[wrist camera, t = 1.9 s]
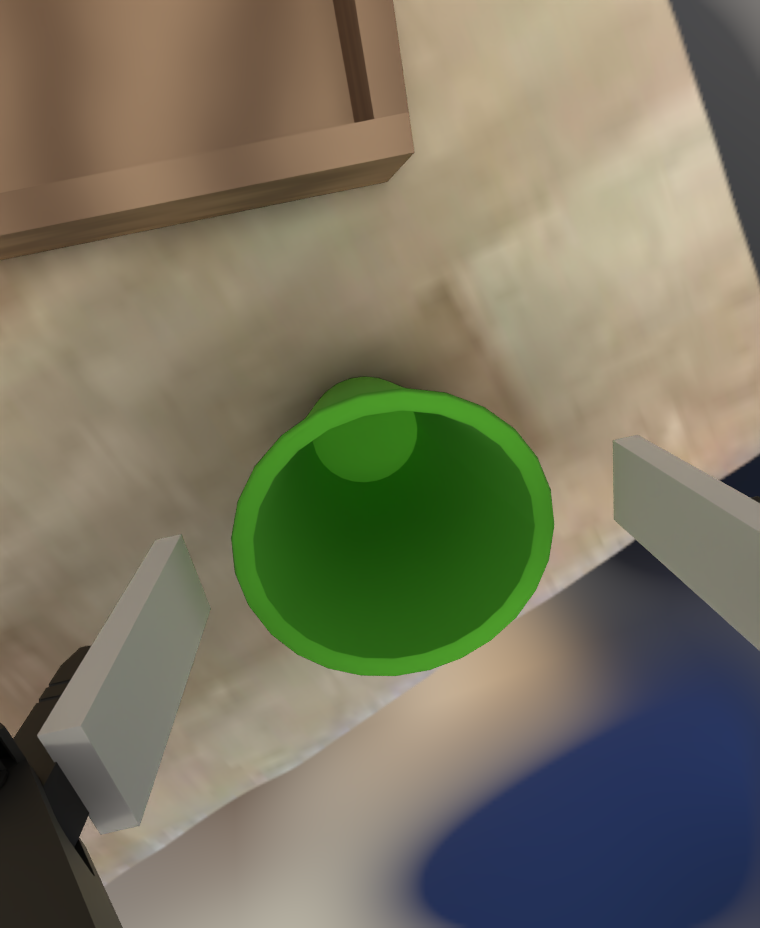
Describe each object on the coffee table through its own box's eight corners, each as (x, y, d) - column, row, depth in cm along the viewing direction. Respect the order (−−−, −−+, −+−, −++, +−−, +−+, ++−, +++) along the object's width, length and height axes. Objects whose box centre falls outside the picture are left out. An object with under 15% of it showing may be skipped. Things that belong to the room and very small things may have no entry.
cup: (248, 346, 22) (192, 419, 12) (452, 320, 23) (562, 368, 13) (285, 526, 26) (265, 701, 15) (461, 499, 26) (553, 650, 16)
